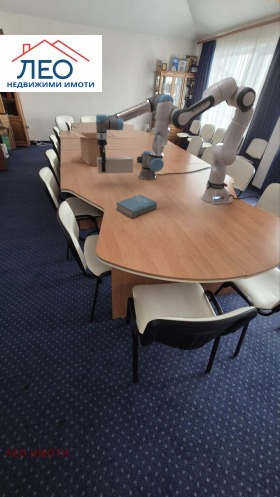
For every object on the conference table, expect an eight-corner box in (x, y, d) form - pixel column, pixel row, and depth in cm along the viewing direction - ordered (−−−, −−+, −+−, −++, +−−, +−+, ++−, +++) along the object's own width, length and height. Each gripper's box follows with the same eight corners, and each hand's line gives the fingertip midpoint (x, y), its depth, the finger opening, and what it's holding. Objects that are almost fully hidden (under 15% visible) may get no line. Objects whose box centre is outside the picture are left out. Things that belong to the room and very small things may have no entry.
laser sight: (156, 165, 238) (157, 155, 232) (135, 163, 241) (136, 153, 235) (157, 163, 245) (158, 153, 240) (137, 160, 248) (138, 151, 242)
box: (116, 165, 229) (116, 136, 213) (83, 168, 214) (80, 137, 198) (102, 154, 259) (101, 128, 243) (71, 156, 244) (68, 129, 228)
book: (140, 200, 162) (140, 194, 160) (156, 208, 154) (157, 202, 151) (116, 209, 149) (116, 202, 146) (132, 218, 140) (132, 211, 137)
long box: (98, 173, 173) (97, 159, 167) (97, 171, 178) (96, 157, 172) (132, 172, 181) (133, 159, 174) (130, 170, 185) (131, 156, 179)
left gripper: (109, 141, 156) (110, 174, 169) (104, 136, 171) (105, 166, 184) (98, 141, 154) (100, 174, 167) (95, 136, 168) (96, 166, 182)
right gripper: (160, 133, 129) (157, 158, 138) (171, 129, 145) (168, 152, 153) (150, 132, 131) (148, 156, 139) (161, 128, 146) (159, 150, 155)
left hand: (103, 170), depth 176 cm, fingers closed on long box, 6 cm apart
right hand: (158, 154), depth 146 cm, fingers open, 8 cm apart
